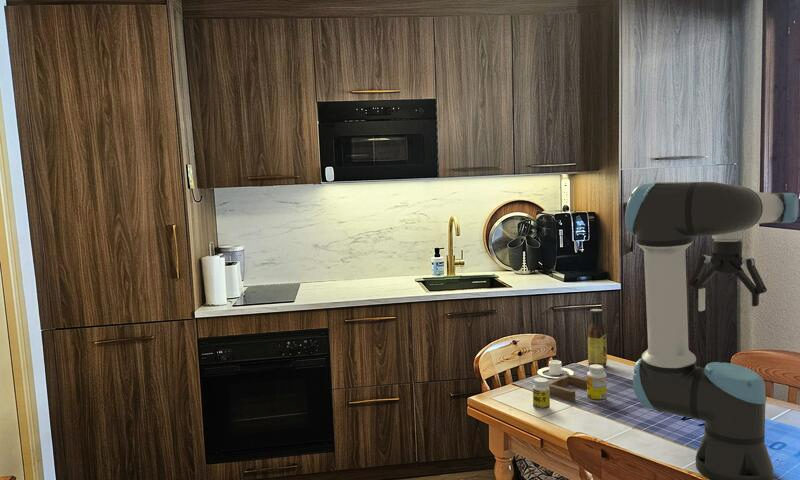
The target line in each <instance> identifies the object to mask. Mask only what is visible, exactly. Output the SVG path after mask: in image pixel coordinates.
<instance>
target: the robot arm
mask: <svg viewBox="0 0 800 480" xmlns="http://www.w3.org/2000/svg"><path fill="white" fill-rule="evenodd" d="M799 202H800V201H799V197H798V195H797V194H796V193H793V192H759V191H754V190H753V189H751V188H748V187H745V186H742V185H738V184H734V185H732V184H727V183H724V182H723V183H722V182H714V181H695V182H693V181H690V182H689V181H688V182H687V181H685V182H684V181H682V182H680V181H678V182H674V181H673V182H672V181H671V182H668V181H667V182H661V181H660V182H659V181H658V182H651V183H643V184H641V183H640V184H639V185H637V186H636V187H635V188H634V189H633V190H632V192H631V194H630V196H629V197H628V201H627V204H626V207H625V208H626V209H625V212H624V213H625V215H624V223H625V228H626V231H627V233H629V234H630V235H632V236H635V238H636V240H635V241H636V245H637V246H638V247H639V248H640V249H642V250H643V259H644V280H645V302H646V303H645V304H646V325H647V326H646V328H647V346H648V347H647V349H646V350H645V351H643V353H641V357H640V358H639V359H638V360H637V361H636V362H635V365H634V368H633V374H632V385H633V392H634V395H635V397H636V399H637V401H638V403H639V404H641V405H642V406H643V407H645V408H647V409H651V410H655V411H657V412H658V413H659V412H660V413H667V414H671V415H676V416H680V417H685V418H688V419H694V420H699V421H703V422H704V433H703V437H702V439H701V442H700V444H699V447H698V449H697V451H696V454H695V467H696V470H697V471H698V472H699V473H700V474H701V475H703V476H704V477H705V478H707V479H709V480H774V471H775V470H774V466H773V463H772V459H771V458H770V454H769V451H768V449H767V445H766V442H765V441H766V440H765V439H766V436H765V435H766V434H765V433H766V432H765V431H766V403H767V396H766V395H767V394H766V383H765V380H764V379H763V377H762V376H761V375H760V374H758V372H755V371H754V370H752V369H751V368H748V367H745V366H742V365H739V364H735V363H729V362H719V361H713V362H709V363H707V364H706V365H705V367H700V366H697V357H696V355H695V354H694V353H693V352H691V351H690V350H689V329H688V328H689V325H688V323H689V322H688V296H687V295H688V293H687V291H688V290H687V265H686V263H687V262H686V260H687V259H686V255H687V254H686V250H687V249H688V248H689V247H690V246H691V245H692V244H693V241H694V240H693V237H710V236H711V239H712V241H711V256H709V255H708V254H703V255H701V256H700V257H699V264H698V265H697V267H696V269H695V271H694V272H693V275H692V276H691V277H690V281H689V282H688V286H690V287H694V289H695V299H696V300H698V303H697V304H698V309H697V310H698V312H703V311H706V287H704V286H705V285H706V284H707V283H708V282H709V281H710V280H711V279H712V278H713V277H714V275H715V274H717V273H727V274H734V275H735V276H737V278H738V279H739V280H740V281H741V283H742V284H743V285H744V286H745V287H746V289H747V290H748V291H749V292H750V293H749V294H748V298H747V308H748V309H747V318H748V319H753V318H755V317H756V307H758V306H759V304H760V294H765V293H766V292H767V291H768V288H767V287H766V285H765V283H764V281H763V279H762V277H761V275H760V273H759V271H758V269H757V267H756V264H755V263H756V261H755V259H754V257H750V258H743V257H742V255H743V241H742V240H741V239H743V231H746V230H749V229H750V228H753V227H754V226H755V225H758V224H770V223H775V224H776V223H777V224H784V223H785V224H786V223H795V222H796V221H797V220H798V216H799V205H800V203H799ZM709 263H711V264H712V266H711V268H710V269H709V270H708V271H707V273H705V274H704V275H703V277H702V278H701V276H702V274H703V272H704V271H705V269H706V267H707V265H708V264H709ZM742 265H744V267H746V268H747V271H748V273H749V276H750V277H751V278H750V277H749V276H748V274H746V273H745V270H744V269H743V268H742V267H741V266H742ZM751 279H752V280H751Z"/></svg>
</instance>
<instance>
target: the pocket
mask: <svg viewBox="0 0 800 480" xmlns="http://www.w3.org/2000/svg"><path fill="white" fill-rule="evenodd" d="M558 377H559V376H558ZM548 386H549V388H550V396H551V397H553V398H557V399H561V400H564V401H568V402H571V403H574V402H575V401H576V390H573V389H570V388H566V387H574V388H578V389H581V390H585V391H587V378H586V377H580V376H578V375H577V376H576V375H574V374H573V375H569V373H567V374H565V375H562V376H560V377H559V378H553V380H552V379H551V380H550V381H549V380H548Z"/></svg>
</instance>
